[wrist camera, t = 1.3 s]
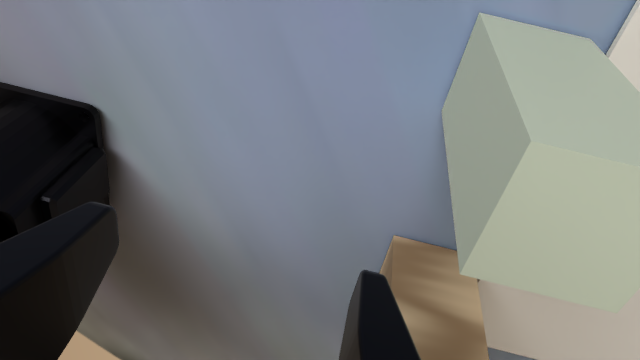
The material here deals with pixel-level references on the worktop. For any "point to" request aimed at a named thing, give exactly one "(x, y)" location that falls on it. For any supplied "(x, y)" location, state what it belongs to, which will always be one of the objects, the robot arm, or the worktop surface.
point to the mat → (559, 315)
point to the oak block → (436, 300)
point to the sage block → (544, 165)
